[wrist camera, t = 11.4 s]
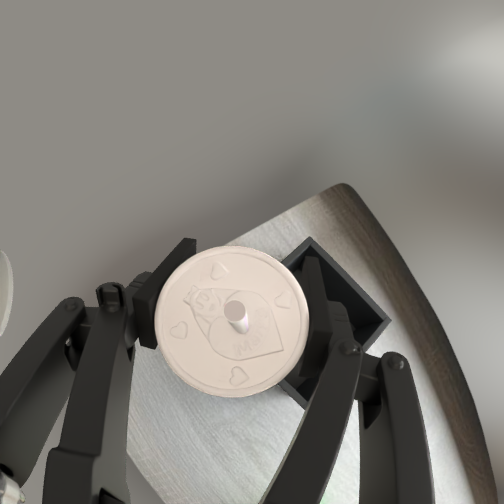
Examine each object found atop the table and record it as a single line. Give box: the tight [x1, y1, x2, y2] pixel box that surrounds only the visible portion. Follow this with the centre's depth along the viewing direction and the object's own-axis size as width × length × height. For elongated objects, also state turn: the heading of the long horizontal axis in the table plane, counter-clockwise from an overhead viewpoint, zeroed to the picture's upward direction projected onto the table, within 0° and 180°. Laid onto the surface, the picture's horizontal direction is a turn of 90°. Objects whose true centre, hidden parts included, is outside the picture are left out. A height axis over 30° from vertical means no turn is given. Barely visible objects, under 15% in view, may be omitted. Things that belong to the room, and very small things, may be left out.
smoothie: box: [155, 246, 309, 398], centre depth 13 cm, size 6×6×14 cm
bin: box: [278, 236, 392, 410], centre depth 32 cm, size 14×14×10 cm
